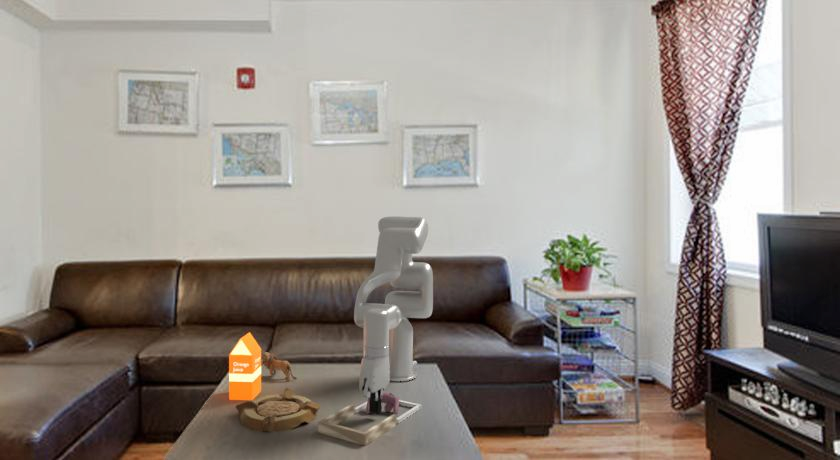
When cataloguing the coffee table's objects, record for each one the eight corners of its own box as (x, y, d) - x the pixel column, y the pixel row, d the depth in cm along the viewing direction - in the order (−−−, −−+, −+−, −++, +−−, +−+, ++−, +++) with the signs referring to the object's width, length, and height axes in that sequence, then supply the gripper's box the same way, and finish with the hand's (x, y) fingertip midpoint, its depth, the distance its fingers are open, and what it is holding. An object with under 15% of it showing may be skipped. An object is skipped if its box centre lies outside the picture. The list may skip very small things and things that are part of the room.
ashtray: (234, 407, 169) (234, 391, 169) (311, 398, 178) (311, 383, 177) (237, 438, 147) (237, 420, 147) (324, 426, 155) (325, 409, 155)
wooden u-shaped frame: (351, 413, 164) (351, 404, 164) (396, 425, 156) (396, 415, 156) (317, 432, 151) (318, 421, 151) (365, 445, 143) (365, 434, 143)
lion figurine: (257, 378, 196) (257, 353, 196) (266, 373, 201) (265, 349, 201) (293, 382, 191) (293, 357, 191) (301, 378, 197) (301, 353, 196)
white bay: (378, 398, 177) (378, 395, 177) (421, 408, 169) (421, 404, 169) (353, 412, 165) (353, 408, 165) (398, 423, 157) (398, 419, 157)
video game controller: (399, 417, 166) (400, 393, 169) (397, 415, 162) (398, 391, 165) (367, 415, 167) (369, 391, 170) (364, 413, 163) (366, 389, 166)
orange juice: (261, 390, 183) (261, 332, 182) (252, 400, 174) (252, 338, 173) (238, 390, 183) (238, 331, 182) (228, 399, 174) (228, 338, 173)
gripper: (379, 343, 168) (378, 402, 169) (350, 355, 155) (349, 418, 156) (400, 347, 165) (399, 406, 166) (372, 359, 152) (371, 423, 153)
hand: (375, 412), depth 161 cm, fingers closed
